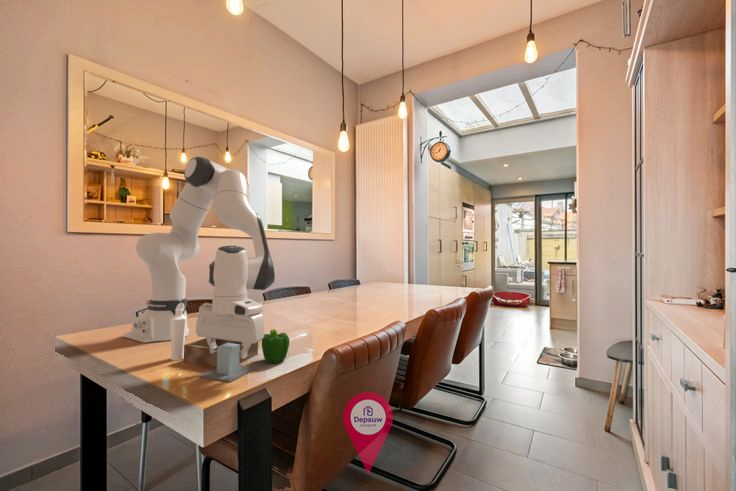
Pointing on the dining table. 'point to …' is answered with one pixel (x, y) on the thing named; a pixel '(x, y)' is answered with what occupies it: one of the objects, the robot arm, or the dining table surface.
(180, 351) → the perfume bottle
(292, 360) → the dining table surface
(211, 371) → the pad
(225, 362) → the block
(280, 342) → the bell pepper
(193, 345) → the walnut crate
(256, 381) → the dining table surface
